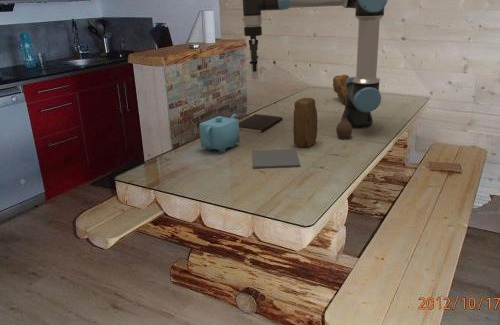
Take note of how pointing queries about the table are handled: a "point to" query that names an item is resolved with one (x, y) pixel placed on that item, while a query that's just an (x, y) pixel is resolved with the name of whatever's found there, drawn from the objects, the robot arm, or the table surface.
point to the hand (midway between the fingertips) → (254, 76)
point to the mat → (275, 158)
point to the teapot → (219, 133)
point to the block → (305, 122)
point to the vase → (344, 129)
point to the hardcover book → (259, 123)
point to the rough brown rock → (340, 86)
